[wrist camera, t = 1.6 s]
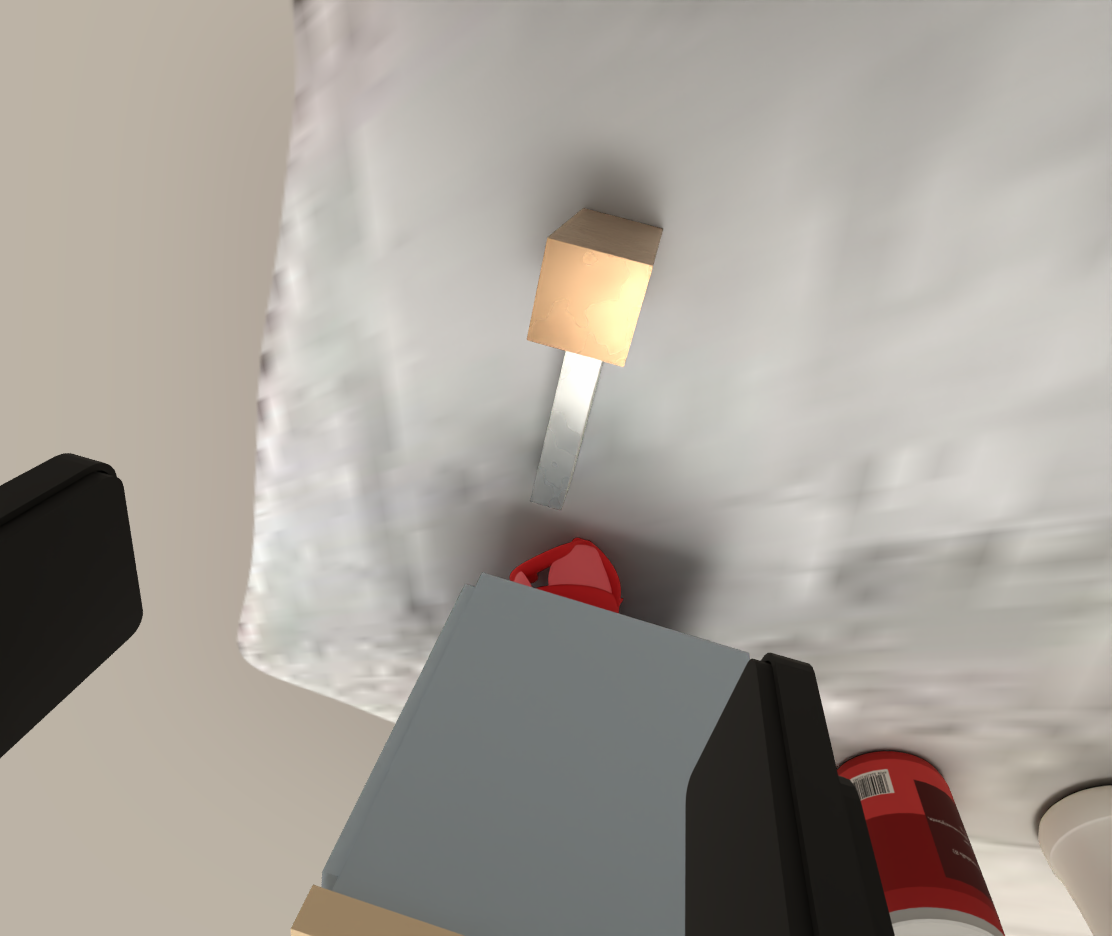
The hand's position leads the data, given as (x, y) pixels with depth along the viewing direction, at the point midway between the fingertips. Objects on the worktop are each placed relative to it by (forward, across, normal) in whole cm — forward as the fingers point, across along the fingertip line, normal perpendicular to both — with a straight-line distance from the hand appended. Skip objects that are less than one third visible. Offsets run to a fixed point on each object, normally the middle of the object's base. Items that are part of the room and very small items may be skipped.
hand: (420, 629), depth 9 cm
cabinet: (+27, -5, +22) cm, 35 cm away
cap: (+27, -2, +19) cm, 33 cm away
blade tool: (+27, 0, +5) cm, 27 cm away
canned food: (+27, -28, +30) cm, 49 cm away
